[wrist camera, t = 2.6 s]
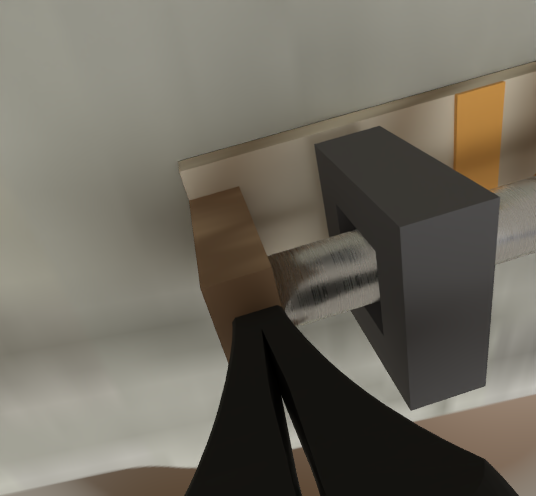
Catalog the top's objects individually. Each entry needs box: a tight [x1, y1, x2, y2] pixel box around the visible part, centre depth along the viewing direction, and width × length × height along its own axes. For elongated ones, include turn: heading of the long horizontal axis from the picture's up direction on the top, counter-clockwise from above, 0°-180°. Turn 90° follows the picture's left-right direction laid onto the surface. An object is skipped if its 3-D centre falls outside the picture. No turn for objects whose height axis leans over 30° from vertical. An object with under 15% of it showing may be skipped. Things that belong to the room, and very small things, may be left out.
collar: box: [314, 126, 500, 410], centre depth 14 cm, size 2×6×6 cm, turn 13°
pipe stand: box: [178, 61, 536, 363], centre depth 16 cm, size 18×6×7 cm, turn 103°
